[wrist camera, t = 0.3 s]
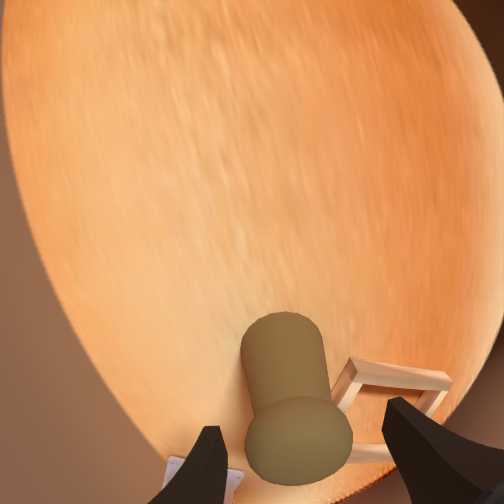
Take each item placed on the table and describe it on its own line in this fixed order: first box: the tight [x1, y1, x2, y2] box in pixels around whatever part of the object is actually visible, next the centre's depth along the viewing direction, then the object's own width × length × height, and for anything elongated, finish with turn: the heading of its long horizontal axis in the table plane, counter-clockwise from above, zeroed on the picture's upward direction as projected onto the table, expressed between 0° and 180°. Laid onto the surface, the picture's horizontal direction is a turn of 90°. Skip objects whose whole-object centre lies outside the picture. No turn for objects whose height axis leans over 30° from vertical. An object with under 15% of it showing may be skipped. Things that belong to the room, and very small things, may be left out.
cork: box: [240, 312, 353, 486], centre depth 16 cm, size 6×6×11 cm
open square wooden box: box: [331, 357, 454, 463], centre depth 22 cm, size 11×11×2 cm
